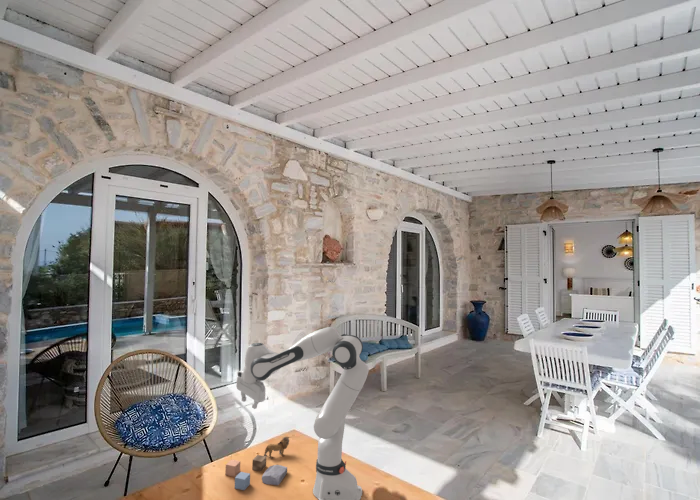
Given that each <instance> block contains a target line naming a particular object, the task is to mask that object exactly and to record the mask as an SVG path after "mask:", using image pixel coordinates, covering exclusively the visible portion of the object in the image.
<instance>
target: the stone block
mask: <svg viewBox="0 0 700 500" xmlns="http://www.w3.org/2000/svg"><path fill="white" fill-rule="evenodd" d="M287 473H288V466H283V465H281V464H273V465H270V466H268V468H267V469H266V470H265V471H264V473H263V474H262V476H261V482H262V483H263V484H266V485H273V486H279V485H280V484H281V482H282V481H283V480H284V479H285V477H286V475H287Z"/></svg>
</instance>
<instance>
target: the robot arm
mask: <svg viewBox="0 0 700 500" xmlns="http://www.w3.org/2000/svg"><path fill="white" fill-rule="evenodd" d="M363 348H364V345H363V342H362V340H361V338H360V337H359V336H357V335H352V334H347V333H346V334H345V333H343V334H341V335H340V333H339V331H338V330H337V329H336V327H333V326H328V327H324V328H320V329H317V330H315V331H312V332H310V333H307V334H306V335H305V336H303V337H302V338H300V339H299V340H298V341H296V342H295V343H294V344H292V345H291V346H290V347H288V348H287V349H285V350H283V351H281V352H279V353H278V352H274V351H273V350H271V349H269V348H268V347H266V345H265V344H264V343H262V342H254V343H251V344H249V345H248V346H247V348H246V351H245V356H244V367H243V370H239V371H237V373H236V374H237V376H236V377H237V378H236V384H235V385H236V389H237V391H240V396H241V401H242V402H246V401H247V397H249V398H251V399H252V400H253V404H251V407H252V409H253V410H255V409H257V408H258V405H259V403H262V402H264V401H265V400H266V386H265V384H264V382H263V381H265V380H267V379H268V378H269V377H271V376H273V375H274V374H275V373H277V372H278V371H279V370H281V369H282V368H284V367H286V366H288V365H290V364H294V363H297V362H301V361H304V360H308V359H313V358H316V357H318V356H321V355H324V354H326V353H329V352H332V359H333V360H334V361H335V363H336V364H338V365H339V366H340V367H341V369H342V370H343V371H342V373H341V374H340V376H339V378H338V379H337V382H336V384H334V387H333V388H332V390H331V392H330V394H329V396H328V397H327V399H326V400H325V402H324V404H323V405H322V407H321V408H320V411H319V412H318V414H317V415H316V418H315V420H314V423H313V430H314V434H315V435H316V437H319V438H318V442H317V459H316V462H315V463H316V464H315V472H316V474H315V475H316V476H315V481H314V485H313V489H312V494H313V495H314V496H315V498H316V499H318V500H361V499H362V497H361V496H363V489H362V486H361V485H358V480H357V478H356V476H355V474H352V473H351V471H349V470H348V469H347V468H346V465H347V460H345V461H344V460H343V459H342V457H343V455H342V454H343V439H344V432H345V427H346V426H345V424H346V417H347V415H348V413H349V412H350V410H351V408H352V407H353V404H354V403H355V401H356V399H357V398H358V397H359V394H360V393H361V391H362V389H363V387H364V384H365V383H366V380H367V378H368V374H369V366H368V364H366V362H365V361H363V360H362V358H360V355H361V354H362V352H363Z"/></svg>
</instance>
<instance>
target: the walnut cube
mask: <svg viewBox="0 0 700 500" xmlns="http://www.w3.org/2000/svg"><path fill="white" fill-rule="evenodd" d="M251 467H252V468H251V469H252V471H258V472H263V470H264V469H265V468H267V456H264V455H259V454H257V455H255V457H254V458H252V466H251Z"/></svg>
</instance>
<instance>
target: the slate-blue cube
mask: <svg viewBox="0 0 700 500" xmlns="http://www.w3.org/2000/svg"><path fill="white" fill-rule="evenodd" d="M250 485H251V473H249V472H244V471H240V472H239V473H238V474H237V475H236V476H235V477H234V489H235V490H241V491H245V490H246V489H247V488H248V487H249V486H250Z"/></svg>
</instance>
